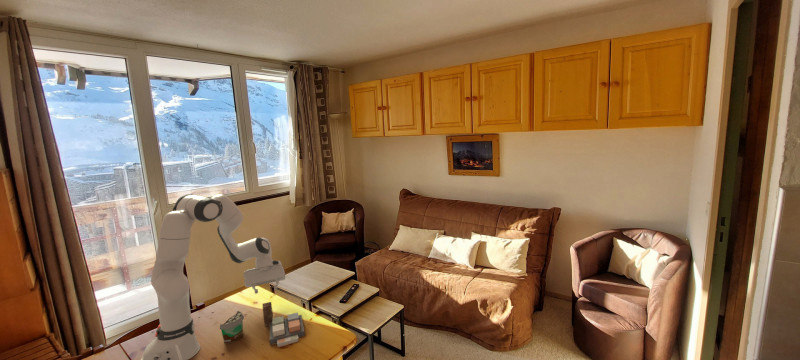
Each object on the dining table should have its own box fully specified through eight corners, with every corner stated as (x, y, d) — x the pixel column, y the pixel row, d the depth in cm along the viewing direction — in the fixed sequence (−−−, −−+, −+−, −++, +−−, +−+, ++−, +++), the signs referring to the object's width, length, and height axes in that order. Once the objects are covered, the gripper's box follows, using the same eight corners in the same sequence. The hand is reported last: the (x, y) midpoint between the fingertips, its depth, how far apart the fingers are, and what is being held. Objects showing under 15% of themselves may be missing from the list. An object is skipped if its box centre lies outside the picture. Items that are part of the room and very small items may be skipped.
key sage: (273, 328, 154) (272, 323, 154) (272, 323, 159) (272, 318, 158) (284, 325, 156) (283, 321, 155) (283, 320, 160) (283, 315, 160)
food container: (233, 346, 146) (231, 326, 145) (222, 345, 147) (219, 325, 146) (251, 330, 158) (249, 311, 157) (240, 329, 159) (237, 310, 158)
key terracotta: (289, 332, 150) (288, 327, 150) (288, 327, 155) (288, 322, 154) (300, 330, 152) (300, 325, 152) (299, 324, 157) (299, 319, 156)
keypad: (270, 348, 143) (269, 343, 143) (270, 327, 160) (269, 322, 159) (305, 339, 149) (304, 334, 148) (301, 319, 165) (301, 314, 165)
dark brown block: (264, 326, 161) (262, 307, 159) (264, 322, 164) (262, 303, 163) (273, 324, 162) (271, 305, 161) (273, 320, 166) (271, 301, 164)
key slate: (288, 324, 157) (288, 320, 156) (288, 319, 161) (287, 314, 161) (299, 322, 158) (298, 317, 158) (298, 316, 163) (297, 312, 163)
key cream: (273, 337, 148) (272, 332, 147) (273, 331, 152) (272, 326, 152) (284, 334, 149) (284, 329, 149) (284, 328, 154) (283, 323, 154)
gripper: (242, 267, 171) (243, 293, 163) (283, 260, 178) (286, 284, 171) (244, 272, 176) (245, 297, 168) (284, 265, 183) (286, 288, 176)
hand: (266, 291), depth 169 cm, fingers open, 8 cm apart
